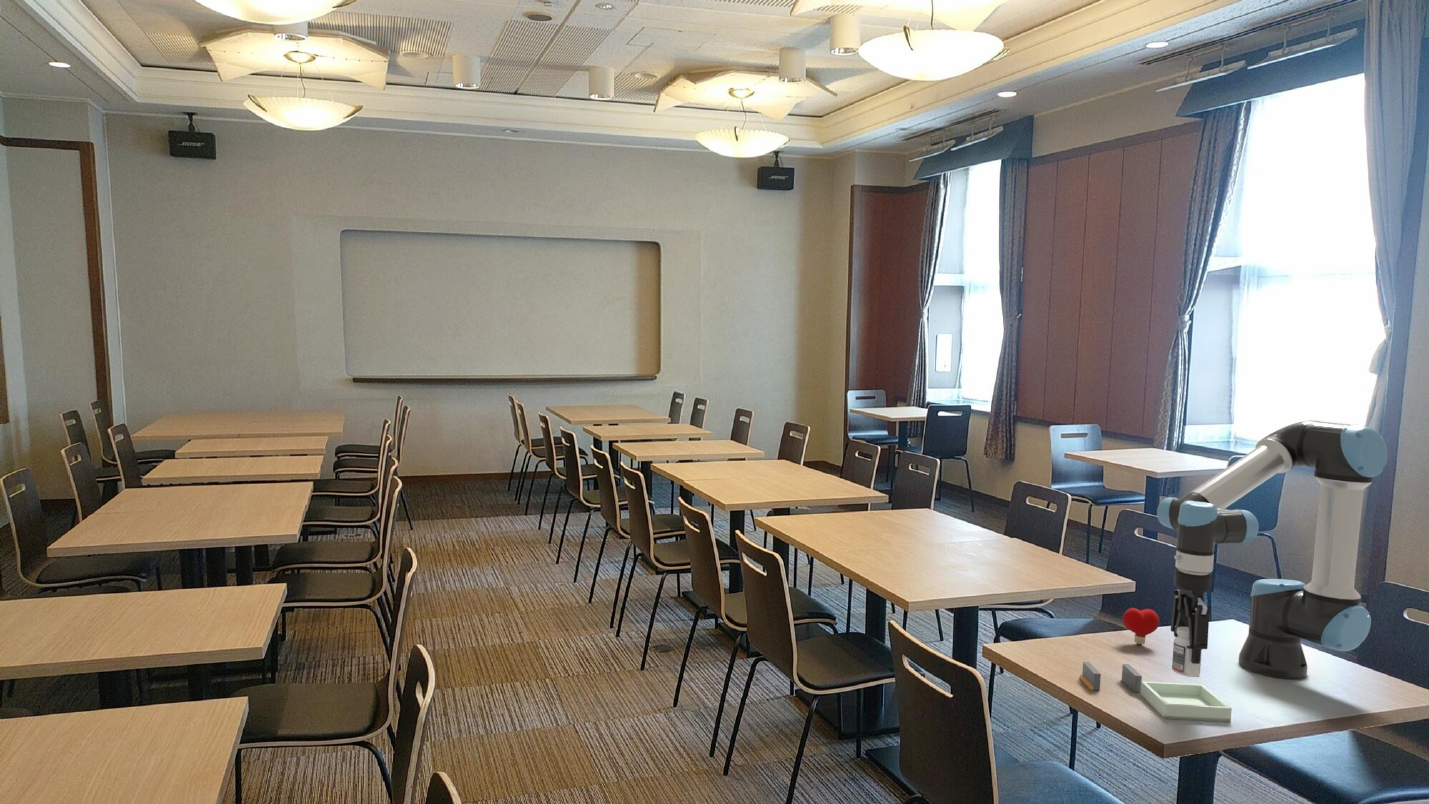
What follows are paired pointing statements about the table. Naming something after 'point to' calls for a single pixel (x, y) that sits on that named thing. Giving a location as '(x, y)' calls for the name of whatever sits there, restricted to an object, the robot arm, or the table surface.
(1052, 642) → the table surface
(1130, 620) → the red heart bulb
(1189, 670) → the robot arm
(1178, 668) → the pill bottle
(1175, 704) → the tray
